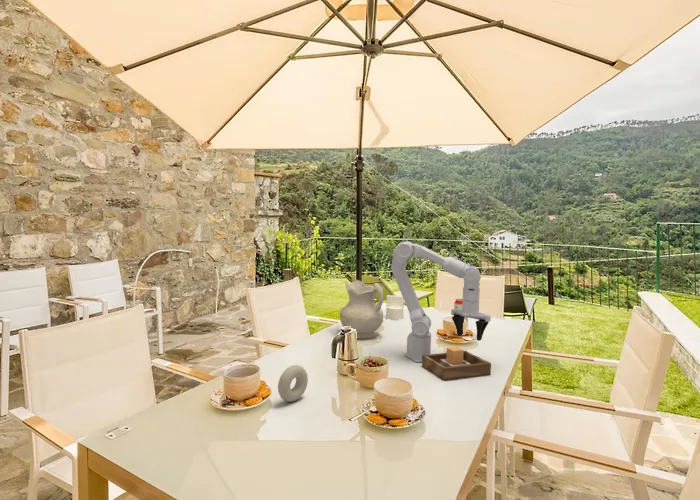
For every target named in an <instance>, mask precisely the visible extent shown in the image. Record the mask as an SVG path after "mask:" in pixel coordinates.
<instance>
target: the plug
mask: <svg viewBox="0 0 700 500" xmlns="http://www.w3.org/2000/svg"><path fill="white" fill-rule="evenodd" d="M464 351H465V350H464V349H462V348H461V347H458V346H453V347H446V353H447V358H446V361H447V362H449V363H450V364H452V365H460V364H463V354H464Z"/></svg>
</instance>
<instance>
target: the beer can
mask: <svg viewBox="0 0 700 500" xmlns="http://www.w3.org/2000/svg"><path fill="white" fill-rule="evenodd" d="M462 303H463V298H455V301H454V304H453V309H457V310H462ZM464 319H466V321H467V327H468V326H469V325H468V322H469V318H468V317H465V318H464Z"/></svg>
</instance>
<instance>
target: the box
mask: <svg viewBox="0 0 700 500" xmlns="http://www.w3.org/2000/svg"><path fill="white" fill-rule="evenodd" d="M446 358H447V352H443V353H442V352H441V353H434V354H430V355H422V362H421V367H422V368H423V369H425V370H427V371H428V372H429V373H431V374H433V375H434V376H436V377H437V378H439V379H441V380H442V381H444V382H446V381H447V382H448V381H454V380H455V381H456V380H461V379H462V380H463V379H469V378H477V377H478V378H479V377H485V376H491V374H492V371H491V370H492V362H489V361H487V360H485V359H483V358H482V357H480V356H478V355H475V354H472V353H471V352H469V351H466V350H464V354H463V364H460V365H452V364H450V363H449V362H447V361H446Z"/></svg>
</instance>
